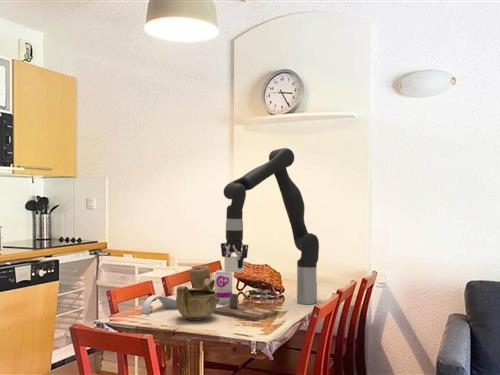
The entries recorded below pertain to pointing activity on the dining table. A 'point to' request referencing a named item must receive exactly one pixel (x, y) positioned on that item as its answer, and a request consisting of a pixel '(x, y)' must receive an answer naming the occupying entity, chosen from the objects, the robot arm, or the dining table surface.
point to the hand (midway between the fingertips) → (234, 267)
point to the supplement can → (223, 286)
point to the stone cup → (199, 276)
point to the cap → (232, 264)
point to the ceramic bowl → (197, 301)
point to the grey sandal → (166, 301)
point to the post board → (244, 311)
